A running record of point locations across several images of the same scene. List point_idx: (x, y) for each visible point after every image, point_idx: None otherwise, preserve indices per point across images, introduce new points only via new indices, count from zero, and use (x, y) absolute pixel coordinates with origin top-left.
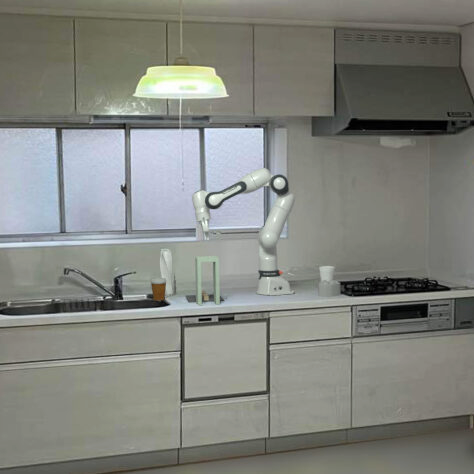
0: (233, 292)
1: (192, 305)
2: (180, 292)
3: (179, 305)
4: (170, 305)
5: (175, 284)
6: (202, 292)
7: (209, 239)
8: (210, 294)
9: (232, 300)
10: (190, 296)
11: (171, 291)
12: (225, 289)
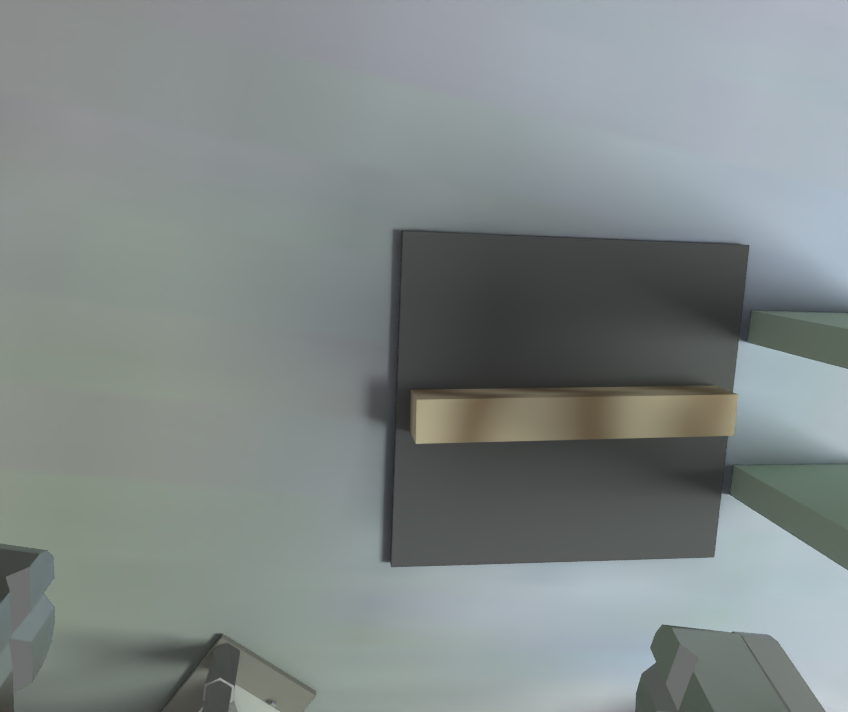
0: (271, 33)
1: None
2: (124, 596)
3: (805, 632)
4: None
5: (222, 708)
6: (527, 427)
7: (771, 638)
8: (407, 322)
9: (742, 160)
10: (466, 525)
11: (240, 703)
12: (16, 76)
